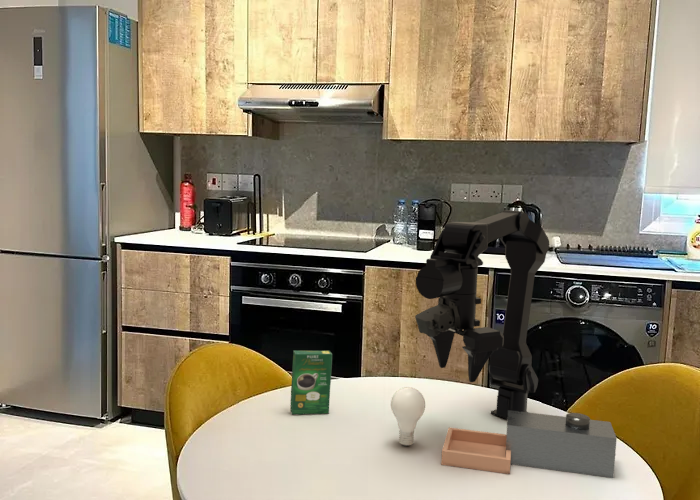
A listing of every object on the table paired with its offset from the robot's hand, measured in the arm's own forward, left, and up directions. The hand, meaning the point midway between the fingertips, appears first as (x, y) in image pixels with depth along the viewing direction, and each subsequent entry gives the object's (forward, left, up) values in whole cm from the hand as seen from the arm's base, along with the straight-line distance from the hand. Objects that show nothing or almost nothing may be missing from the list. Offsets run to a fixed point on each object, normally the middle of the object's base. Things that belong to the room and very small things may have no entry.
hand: (456, 374), depth 124 cm
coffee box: (+11, -29, -14) cm, 34 cm away
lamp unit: (-10, +16, -14) cm, 23 cm away
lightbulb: (+7, -5, -14) cm, 16 cm away
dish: (0, +6, -14) cm, 15 cm away
